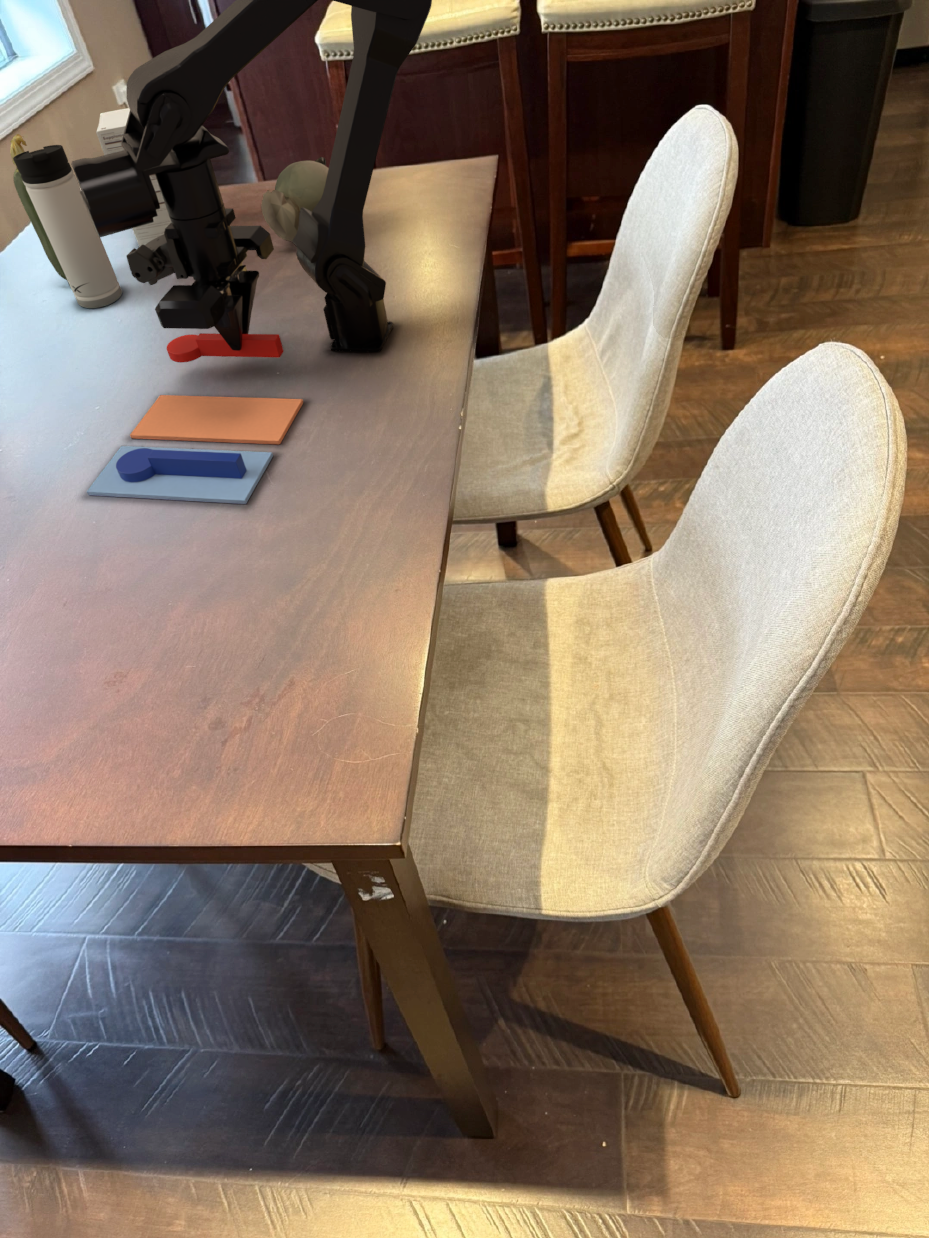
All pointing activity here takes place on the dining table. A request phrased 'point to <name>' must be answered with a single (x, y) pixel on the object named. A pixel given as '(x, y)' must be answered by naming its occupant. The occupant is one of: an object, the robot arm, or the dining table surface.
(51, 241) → the travel mug
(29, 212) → the vegetable
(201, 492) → the blue mat
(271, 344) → the red spoon
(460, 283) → the dining table surface
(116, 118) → the supplement box
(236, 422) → the terracotta mat
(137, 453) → the blue spoon
